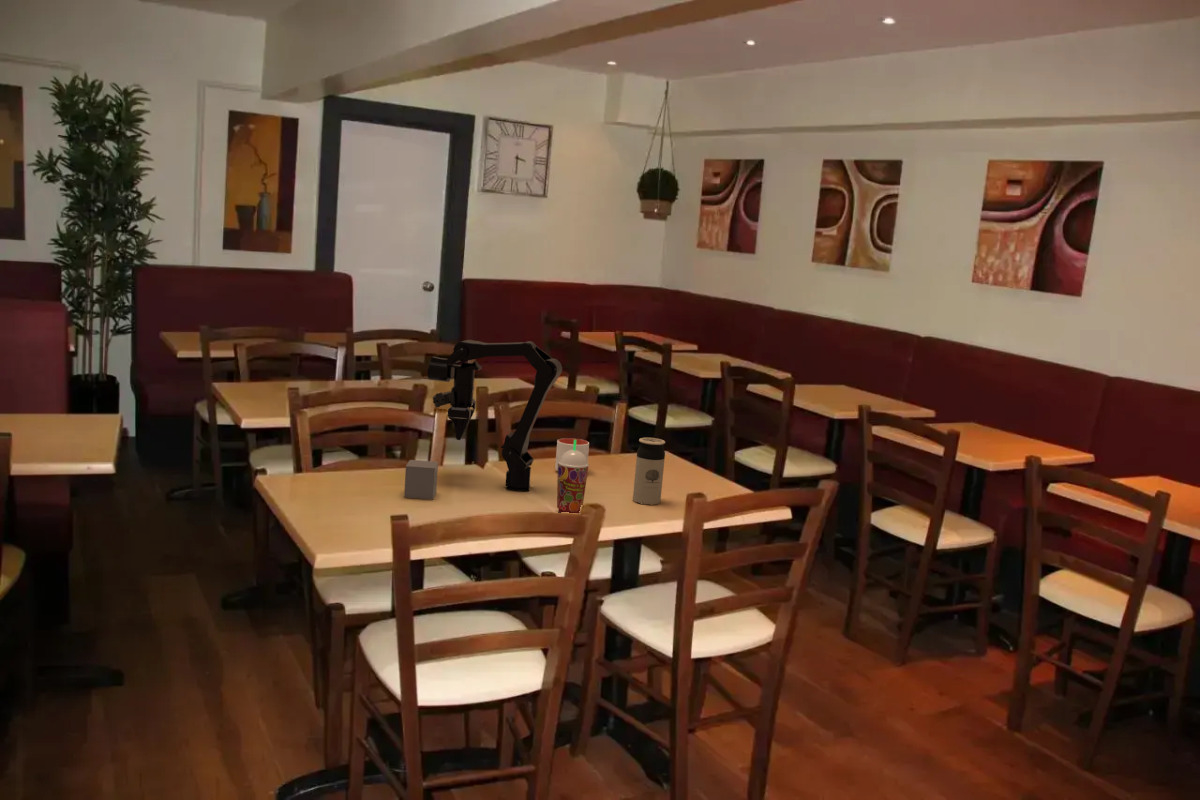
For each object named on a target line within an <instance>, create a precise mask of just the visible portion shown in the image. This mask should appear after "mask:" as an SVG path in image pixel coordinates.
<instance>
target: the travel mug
mask: <svg viewBox="0 0 1200 800" xmlns="http://www.w3.org/2000/svg"><path fill="white" fill-rule="evenodd" d="M638 442H639V446H638V448H637V450H636V459H635V471H634V472H635V473H634V481H633V491H632V500H633V501H634V502H635V503H637V502H638V503H637V504H639V503H642V504H641V505H644V504H656V505H659V504H660V503H661V499H662V489H663V479H664V478H663V477H664V469H665V468H664V467H665V458H666V452H665V449H664V446H665V444H666V441H665V440H663V439H661V438H655V437H642V438H641V437H640V438H639V440H638Z"/></svg>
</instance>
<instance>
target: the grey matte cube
mask: <svg viewBox="0 0 1200 800" xmlns="http://www.w3.org/2000/svg"><path fill="white" fill-rule="evenodd" d="M438 468H439V461H431V460H417V459H409V461H408V462H407V464H406V465H405V475H404V493H403V494H404V495H403V498H404V497H410V498H409V499H412V498H420V499H419V500H426V499H433V498H435V497H436V494H437V488H438V487H437V485H438V471H439V469H438ZM433 500H434V499H433Z"/></svg>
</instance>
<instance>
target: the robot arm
mask: <svg viewBox="0 0 1200 800" xmlns="http://www.w3.org/2000/svg"><path fill="white" fill-rule="evenodd" d="M518 356H519V357H522V356H523V357H524V358H525V359H526V360H527V361H528V363H529V364H530V366H531V367H533V369H534V370H535V372H536V374H535V377H534V385H533V389H532V392H531V394H530V396H529V398H528V402H526V403H527V404H526V405H525V408H524V411H523V413H522V415H521V418H520V420H519V421H518V425H517V426H516V428H515V431H511V432H510V433H508V434H507V435H506V436H505V438H504V442H503V444H502V445H501V446H500V449H502V450H501V457H502V459H503V460H504V462H506V466H507V470H506V473H505V487H506V490H507V491H508V490H509V491H518V492H519V491H520V492H521V491H522V492H529V491H530V490H531V489H530V488H531V484H530V483H531V470H532V467H531V466H532V464H533V462H534V460H535V459H534V458H533V456H532V455H531V454H530V453H529V452H528V447H529V445H530V444H529V443H530V435H531V432H532V430H533V427H534V424H535V423H536V421H537V417H538V415H539V413H540V411H541V409H542V406H543V404H544V402H545V400H546V397H547V395H548V392H549V391H550V390H551V388H552V387H553V385H554V384H555V383H556V381H557V380H558V379H559V378H560V376H561V374H562V372H563V366H562V364H561V362H560V361H559V360H558V359H557V358H552V357H551V356H550V355H549V354H548V353H547V352H545V351H544V350H542V349H541V348H540V347H539V346H538V345H536V344H535V342H533V341H531V340H528V341H525V342H523V341H522V342H520V341H519V342H518V341H517V342H489V343H488V342H483V341H480V340H472V339H467V340H463V341H457V343H456V344H455V345H454V348H453V351H452V353H451V354H450V355H449V356H448V358H443V357H439V356H432V357H431V358H430V362H429V364H428V368H427V372H426V373H427V378H428V380H429V381H437V382H445V383H449V382H450V381H451V380H452V379H453V386H452V387H451V390H449V391H445V392H442V391H440V392H438V393H437V392H436V393H435V395H433V396H432V403H433V404H434V407H435V408H436V409H437V408H440V407H442V406H445V405H450V407H448V409H447V415H446V416H447V417H448V420H450V421H451V422H452V423H453V427H454V433H455V438H456V439H455V440H457V441H461V439H462V437H463V436H464V434H465V433H466V430H467V429H468V426H469V424H470V422H471V419H472V417H473V415H474V413H475V410H476V406H477V401H476V400H475V399H474V391H475V386H474V383H475V371H480V370H482V369H483V366H482V365H480V364H479V362H478V359H481V358H486V357H489V358H490V357H492V358H493V357H518ZM472 360H475V361H473V362H468V361H472ZM459 362H462V363H461V364H457V363H459Z"/></svg>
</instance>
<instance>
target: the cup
mask: <svg viewBox="0 0 1200 800" xmlns="http://www.w3.org/2000/svg"><path fill="white" fill-rule="evenodd" d="M574 440H576V450H578V451H580V452H582V453H583V454H584V455H585V457H586V459H587V462H588V463H589V450H590V442H589V441H587V440H584V439H580V438H573V437H572V438H571V437H570V438H569V437H565V438H559V439H557V441H556V443H557V444H556V454H555V465H554V466H555V467H554V468H555V470H557V471H558V461H559V460H560V458H561V456H562V455H563V454H564V453H565V452H566V451H569V450H573V445H574ZM557 471H556V472H557Z"/></svg>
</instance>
